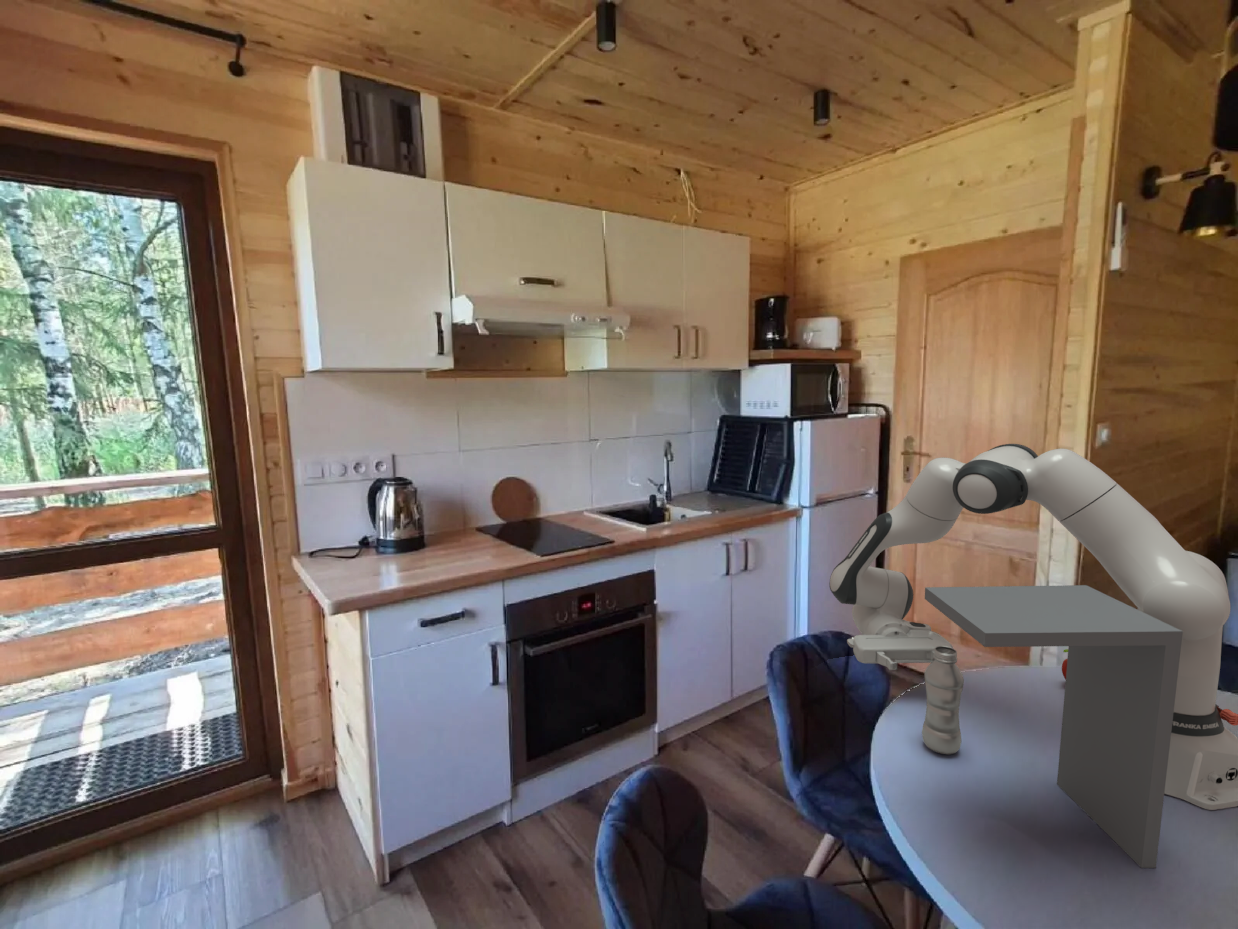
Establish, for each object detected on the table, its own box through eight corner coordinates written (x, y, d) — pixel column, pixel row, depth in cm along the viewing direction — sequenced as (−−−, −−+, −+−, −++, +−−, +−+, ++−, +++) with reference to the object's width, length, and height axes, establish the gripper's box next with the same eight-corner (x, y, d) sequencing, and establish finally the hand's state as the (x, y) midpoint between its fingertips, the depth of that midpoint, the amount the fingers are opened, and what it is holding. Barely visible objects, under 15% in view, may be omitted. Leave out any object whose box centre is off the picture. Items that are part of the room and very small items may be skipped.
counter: (1068, 784, 104) (1086, 585, 99) (1155, 868, 87) (1182, 631, 81) (915, 783, 106) (925, 587, 100) (970, 866, 88) (985, 633, 83)
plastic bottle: (966, 761, 111) (972, 659, 108) (926, 757, 113) (931, 657, 110) (954, 740, 118) (959, 643, 115) (916, 737, 119) (921, 641, 116)
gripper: (844, 625, 139) (866, 652, 125) (935, 624, 138) (967, 651, 124) (843, 651, 139) (865, 681, 126) (934, 650, 138) (965, 680, 125)
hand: (917, 666), depth 125 cm, fingers open, 8 cm apart
